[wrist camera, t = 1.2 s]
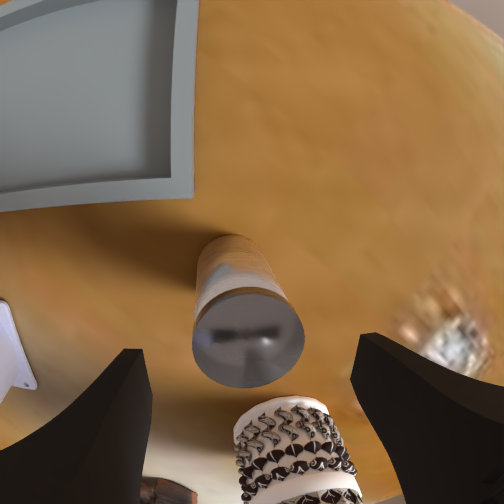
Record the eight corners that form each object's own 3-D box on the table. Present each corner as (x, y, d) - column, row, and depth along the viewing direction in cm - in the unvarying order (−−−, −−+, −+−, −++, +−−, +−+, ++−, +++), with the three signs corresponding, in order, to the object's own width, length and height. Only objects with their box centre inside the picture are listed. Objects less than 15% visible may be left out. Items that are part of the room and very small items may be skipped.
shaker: (198, 300, 19) (196, 390, 11) (194, 234, 18) (188, 298, 10) (265, 297, 20) (299, 382, 12) (266, 233, 18) (309, 292, 11)
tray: (-28, 210, 15) (-49, 219, 12) (-19, 33, 11) (-39, 25, 8) (194, 191, 17) (192, 198, 15) (201, -19, 13) (201, -40, 11)
